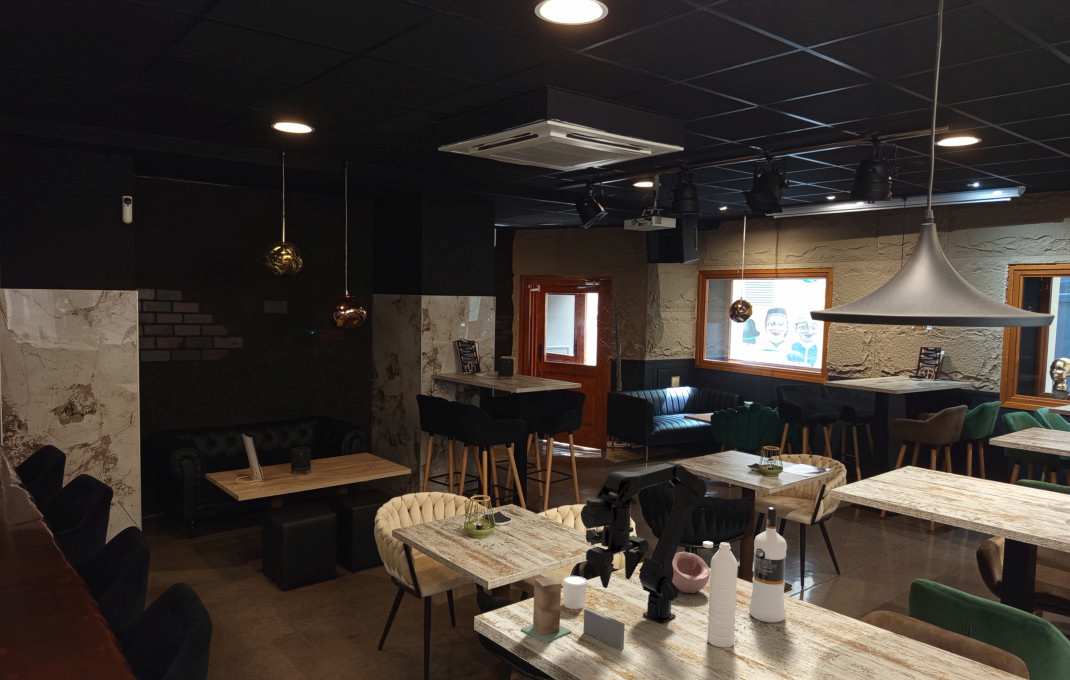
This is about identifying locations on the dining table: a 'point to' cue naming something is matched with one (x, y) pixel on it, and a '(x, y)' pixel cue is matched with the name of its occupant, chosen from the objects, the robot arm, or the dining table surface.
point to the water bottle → (722, 596)
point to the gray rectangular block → (604, 628)
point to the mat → (545, 638)
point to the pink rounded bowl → (689, 572)
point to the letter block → (547, 605)
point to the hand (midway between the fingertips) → (616, 583)
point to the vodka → (769, 573)
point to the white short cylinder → (574, 591)
